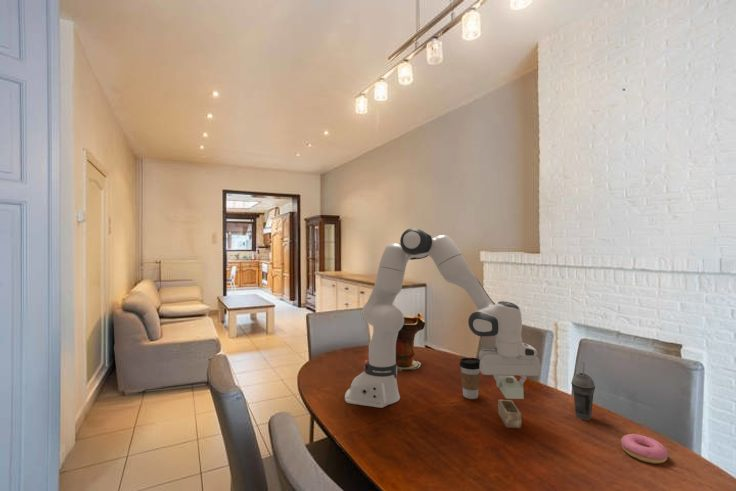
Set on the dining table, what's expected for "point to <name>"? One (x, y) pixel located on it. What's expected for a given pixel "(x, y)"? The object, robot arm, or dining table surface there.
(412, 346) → the decorative vase
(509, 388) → the lid
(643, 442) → the doughnut
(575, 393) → the beverage cup
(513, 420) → the box base
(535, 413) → the dining table surface
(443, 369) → the dining table surface
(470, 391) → the coffee cup
